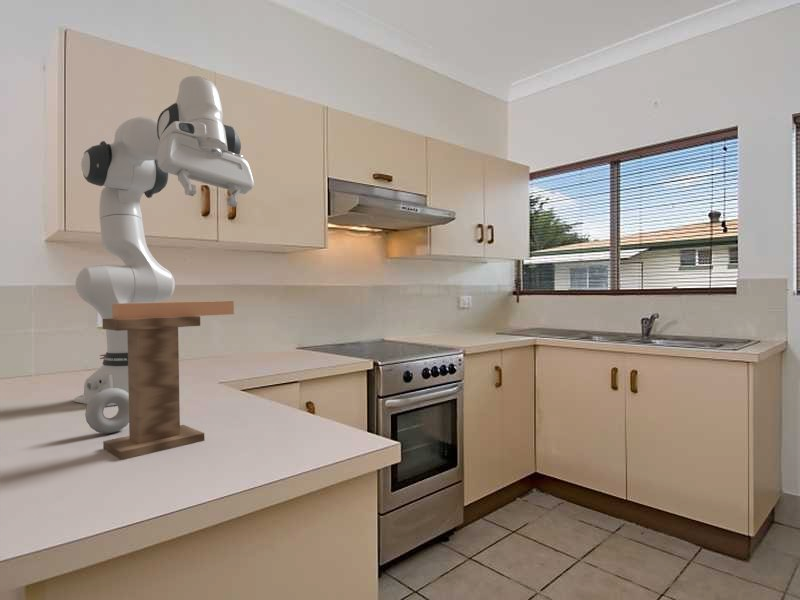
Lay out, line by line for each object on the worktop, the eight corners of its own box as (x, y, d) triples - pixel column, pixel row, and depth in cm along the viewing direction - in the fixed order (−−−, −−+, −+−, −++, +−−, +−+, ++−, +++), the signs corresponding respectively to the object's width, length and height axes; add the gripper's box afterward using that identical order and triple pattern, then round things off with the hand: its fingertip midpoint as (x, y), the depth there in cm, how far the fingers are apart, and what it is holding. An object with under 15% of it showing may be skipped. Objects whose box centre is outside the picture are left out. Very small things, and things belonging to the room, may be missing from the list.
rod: (227, 313, 114) (227, 300, 114) (233, 314, 112) (233, 301, 112) (112, 318, 96) (112, 303, 96) (117, 319, 94) (117, 303, 94)
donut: (131, 426, 115) (130, 383, 114) (138, 429, 112) (137, 385, 112) (83, 436, 107) (82, 390, 107) (89, 439, 105) (88, 392, 105)
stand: (183, 431, 110) (181, 315, 110) (204, 440, 103) (202, 316, 103) (103, 448, 99) (100, 318, 98) (121, 459, 92) (118, 320, 91)
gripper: (239, 164, 117) (247, 216, 113) (151, 135, 101) (156, 194, 97) (255, 151, 113) (263, 204, 109) (166, 118, 97) (172, 179, 93)
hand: (212, 199), depth 103 cm, fingers open, 8 cm apart
